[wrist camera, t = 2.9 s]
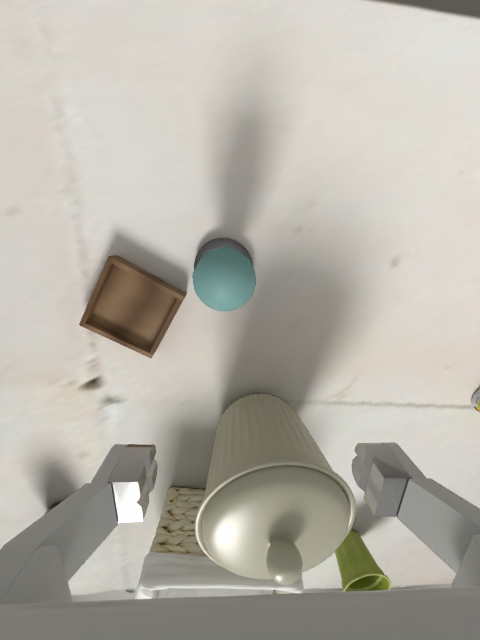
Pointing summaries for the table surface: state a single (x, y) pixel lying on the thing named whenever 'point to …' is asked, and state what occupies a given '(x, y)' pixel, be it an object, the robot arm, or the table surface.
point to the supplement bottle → (476, 400)
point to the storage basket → (192, 559)
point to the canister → (270, 495)
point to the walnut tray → (131, 306)
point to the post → (221, 243)
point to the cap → (224, 279)
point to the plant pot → (359, 566)
